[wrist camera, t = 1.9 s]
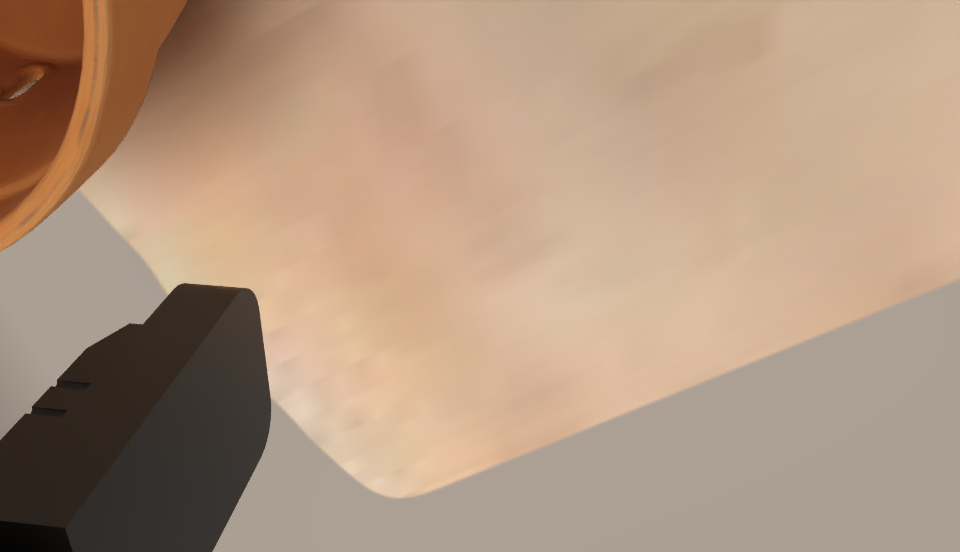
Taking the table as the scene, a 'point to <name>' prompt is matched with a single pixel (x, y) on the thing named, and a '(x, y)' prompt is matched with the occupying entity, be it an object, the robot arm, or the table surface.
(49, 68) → the flower pot
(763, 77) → the table surface
